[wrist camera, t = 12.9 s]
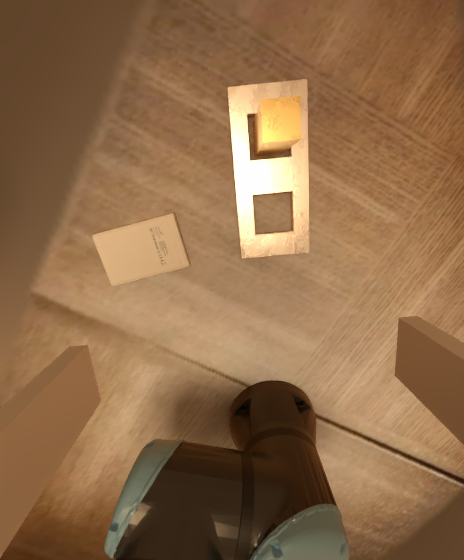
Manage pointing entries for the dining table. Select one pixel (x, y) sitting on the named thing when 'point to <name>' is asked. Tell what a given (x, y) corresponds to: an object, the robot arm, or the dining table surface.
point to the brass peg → (277, 125)
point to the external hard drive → (141, 249)
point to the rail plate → (269, 172)
